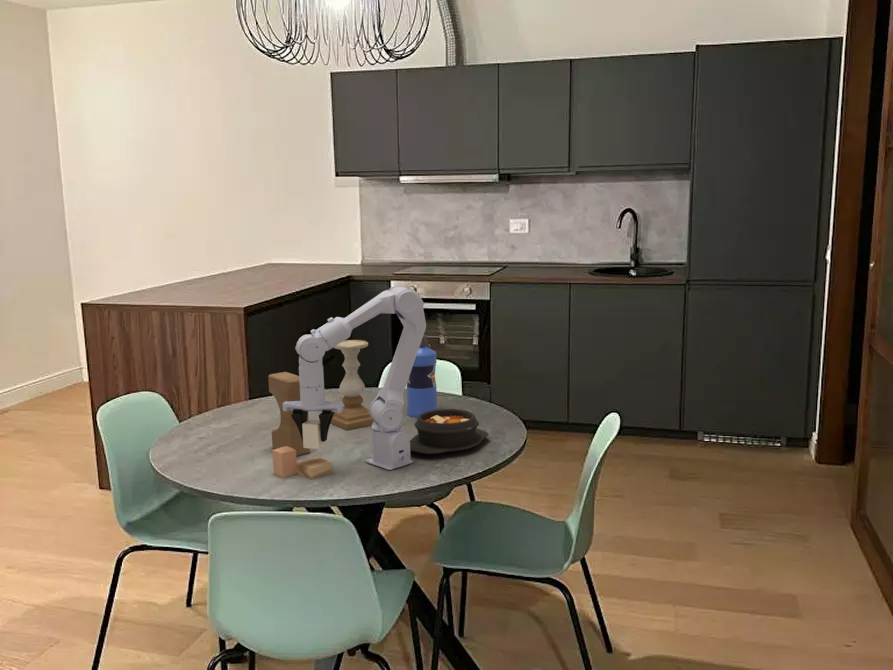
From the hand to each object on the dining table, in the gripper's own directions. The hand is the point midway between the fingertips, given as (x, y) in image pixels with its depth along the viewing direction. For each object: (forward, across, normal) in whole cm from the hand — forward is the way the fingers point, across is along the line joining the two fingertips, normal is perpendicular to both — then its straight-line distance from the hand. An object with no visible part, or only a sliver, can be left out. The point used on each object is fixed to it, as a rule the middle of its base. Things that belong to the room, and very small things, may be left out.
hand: (314, 440), depth 195 cm
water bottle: (+8, -15, -53) cm, 56 cm away
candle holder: (+8, +3, -42) cm, 42 cm away
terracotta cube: (+8, +7, +2) cm, 11 cm away
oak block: (+8, 0, +1) cm, 8 cm away
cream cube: (+1, 0, 0) cm, 1 cm away
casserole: (+8, -28, -23) cm, 37 cm away
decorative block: (+8, +12, -15) cm, 21 cm away
